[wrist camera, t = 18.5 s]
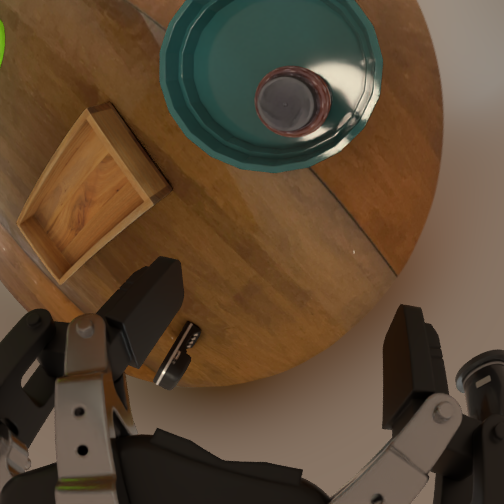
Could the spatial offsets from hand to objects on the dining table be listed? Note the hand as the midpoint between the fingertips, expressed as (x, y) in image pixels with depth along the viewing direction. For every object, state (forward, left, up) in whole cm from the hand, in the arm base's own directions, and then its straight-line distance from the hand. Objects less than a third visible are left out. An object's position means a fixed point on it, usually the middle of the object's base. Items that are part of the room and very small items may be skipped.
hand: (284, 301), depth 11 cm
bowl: (+6, -8, -25) cm, 27 cm away
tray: (+35, +11, -25) cm, 44 cm away
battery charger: (+18, +35, -25) cm, 46 cm away
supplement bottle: (+3, -5, -25) cm, 25 cm away
